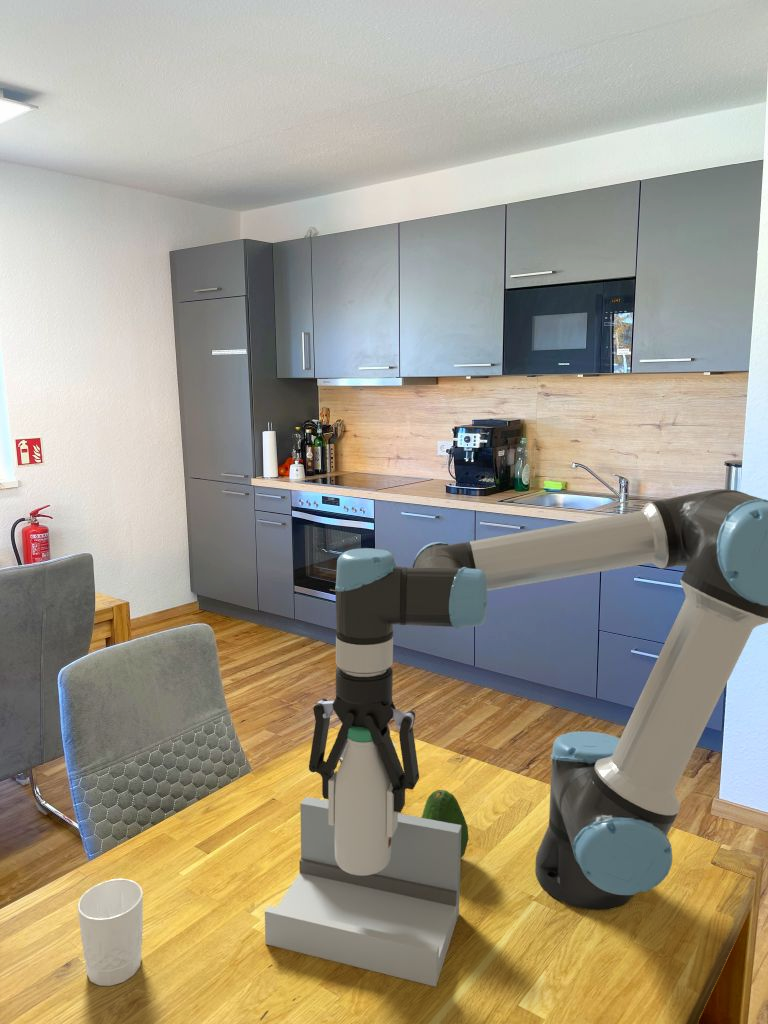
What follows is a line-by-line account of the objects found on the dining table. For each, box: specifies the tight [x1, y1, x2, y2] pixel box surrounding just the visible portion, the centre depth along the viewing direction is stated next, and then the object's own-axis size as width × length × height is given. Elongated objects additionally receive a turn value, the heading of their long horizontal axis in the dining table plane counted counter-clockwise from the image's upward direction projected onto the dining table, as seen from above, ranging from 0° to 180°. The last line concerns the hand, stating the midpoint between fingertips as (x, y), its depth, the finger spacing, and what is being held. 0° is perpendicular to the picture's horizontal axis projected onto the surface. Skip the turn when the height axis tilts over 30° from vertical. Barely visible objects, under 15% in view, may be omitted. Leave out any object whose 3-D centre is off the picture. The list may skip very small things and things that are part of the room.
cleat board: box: [264, 796, 462, 988], centre depth 105 cm, size 24×14×14 cm, turn 72°
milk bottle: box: [335, 726, 391, 876], centre depth 102 cm, size 8×8×20 cm
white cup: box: [77, 878, 144, 987], centre depth 98 cm, size 8×8×10 cm
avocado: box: [421, 789, 469, 860], centre depth 120 cm, size 8×8×12 cm
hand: (363, 825), depth 103 cm, fingers closed on milk bottle, 8 cm apart
